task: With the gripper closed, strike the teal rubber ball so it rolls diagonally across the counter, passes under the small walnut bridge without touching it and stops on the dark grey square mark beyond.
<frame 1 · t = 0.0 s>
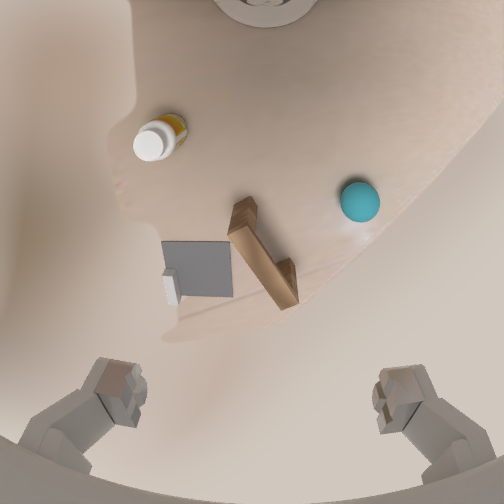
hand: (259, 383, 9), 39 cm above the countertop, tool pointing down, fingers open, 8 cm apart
ball: (360, 202, 44), on the countertop
bridge: (266, 237, 51), on the countertop
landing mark: (198, 270, 56), on the countertop
supplement bottle: (171, 130, 42), on the countertop
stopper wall: (173, 283, 58), on the countertop
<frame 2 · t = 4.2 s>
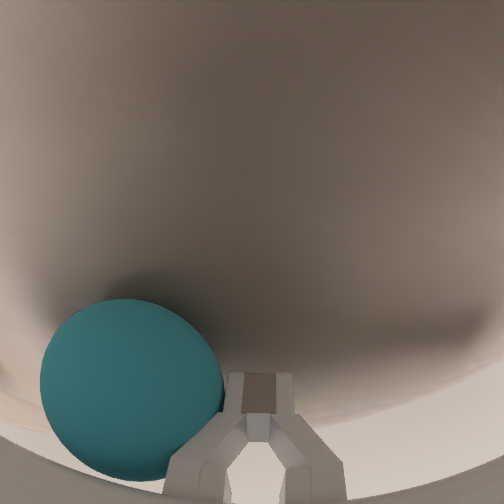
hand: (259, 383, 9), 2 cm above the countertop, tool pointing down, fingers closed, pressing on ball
ball: (131, 391, 9), on the countertop, touching gripper
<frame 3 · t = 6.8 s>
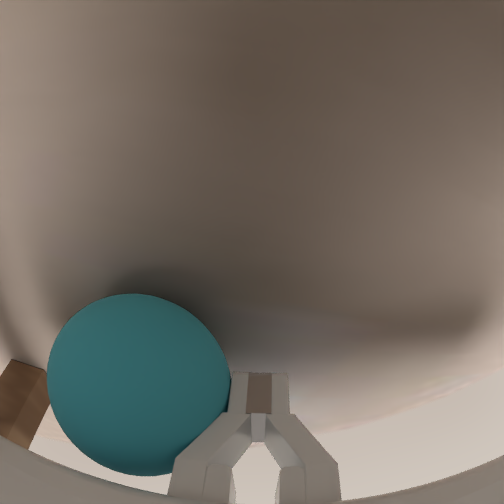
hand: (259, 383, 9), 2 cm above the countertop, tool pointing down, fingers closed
ball: (138, 386, 9), on the countertop, touching gripper
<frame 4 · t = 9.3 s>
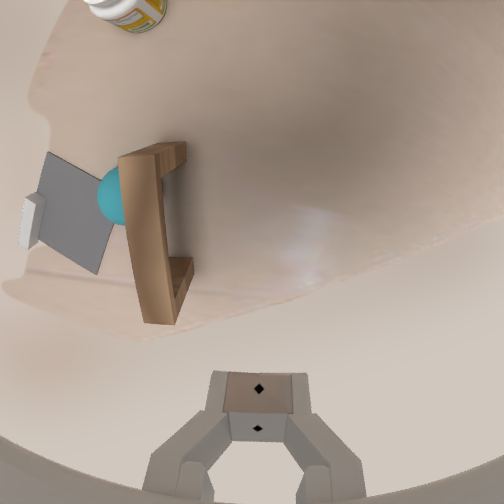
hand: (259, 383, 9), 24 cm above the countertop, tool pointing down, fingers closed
ball: (125, 195, 29), on the countertop
bridge: (175, 211, 33), on the countertop
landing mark: (70, 214, 33), on the countertop
supplement bottle: (143, 12, 23), on the countertop
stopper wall: (36, 217, 33), on the countertop
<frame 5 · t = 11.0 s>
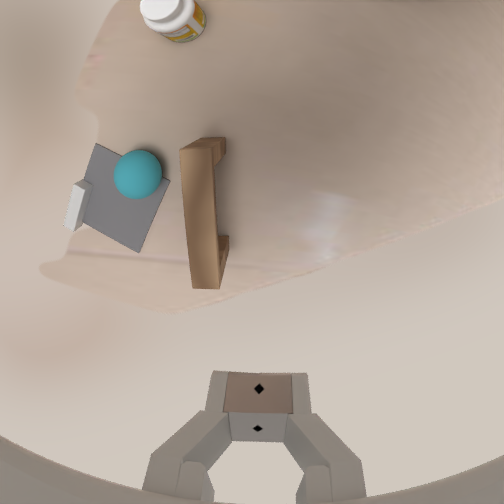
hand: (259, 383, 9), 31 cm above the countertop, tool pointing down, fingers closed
ball: (137, 174, 35), on the countertop
bridge: (215, 196, 39), on the countertop
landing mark: (116, 199, 40), on the countertop
supplement bottle: (185, 24, 29), on the countertop
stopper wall: (82, 202, 40), on the countertop
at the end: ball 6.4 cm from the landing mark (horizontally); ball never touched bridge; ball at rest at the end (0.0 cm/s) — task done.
